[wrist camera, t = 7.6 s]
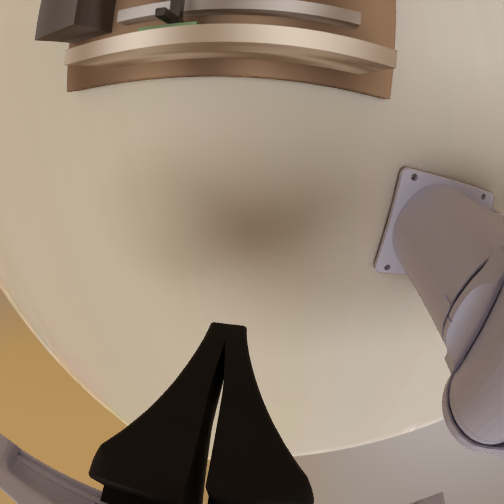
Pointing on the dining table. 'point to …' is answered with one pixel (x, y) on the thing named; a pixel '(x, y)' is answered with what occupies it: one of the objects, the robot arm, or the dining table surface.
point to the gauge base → (226, 41)
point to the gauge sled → (171, 12)
